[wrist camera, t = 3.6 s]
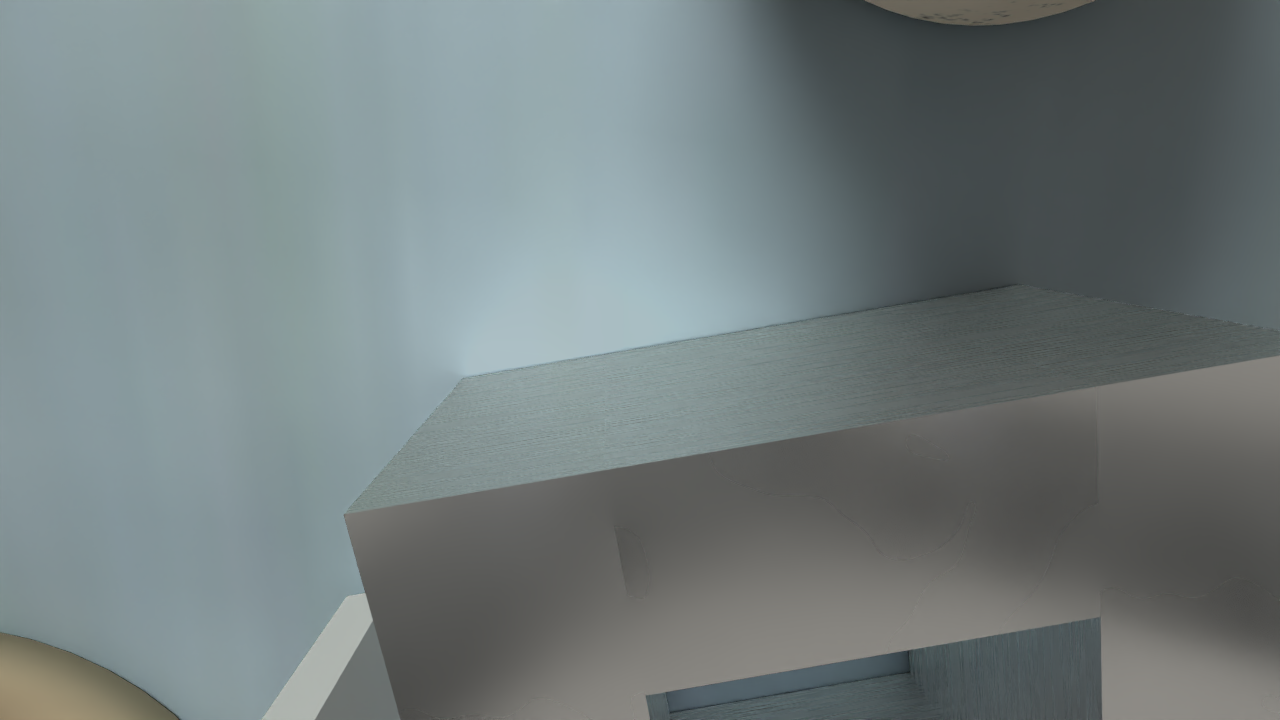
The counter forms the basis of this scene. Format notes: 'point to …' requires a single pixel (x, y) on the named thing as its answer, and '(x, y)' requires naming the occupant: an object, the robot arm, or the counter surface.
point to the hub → (66, 687)
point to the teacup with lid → (978, 10)
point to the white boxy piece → (848, 521)
